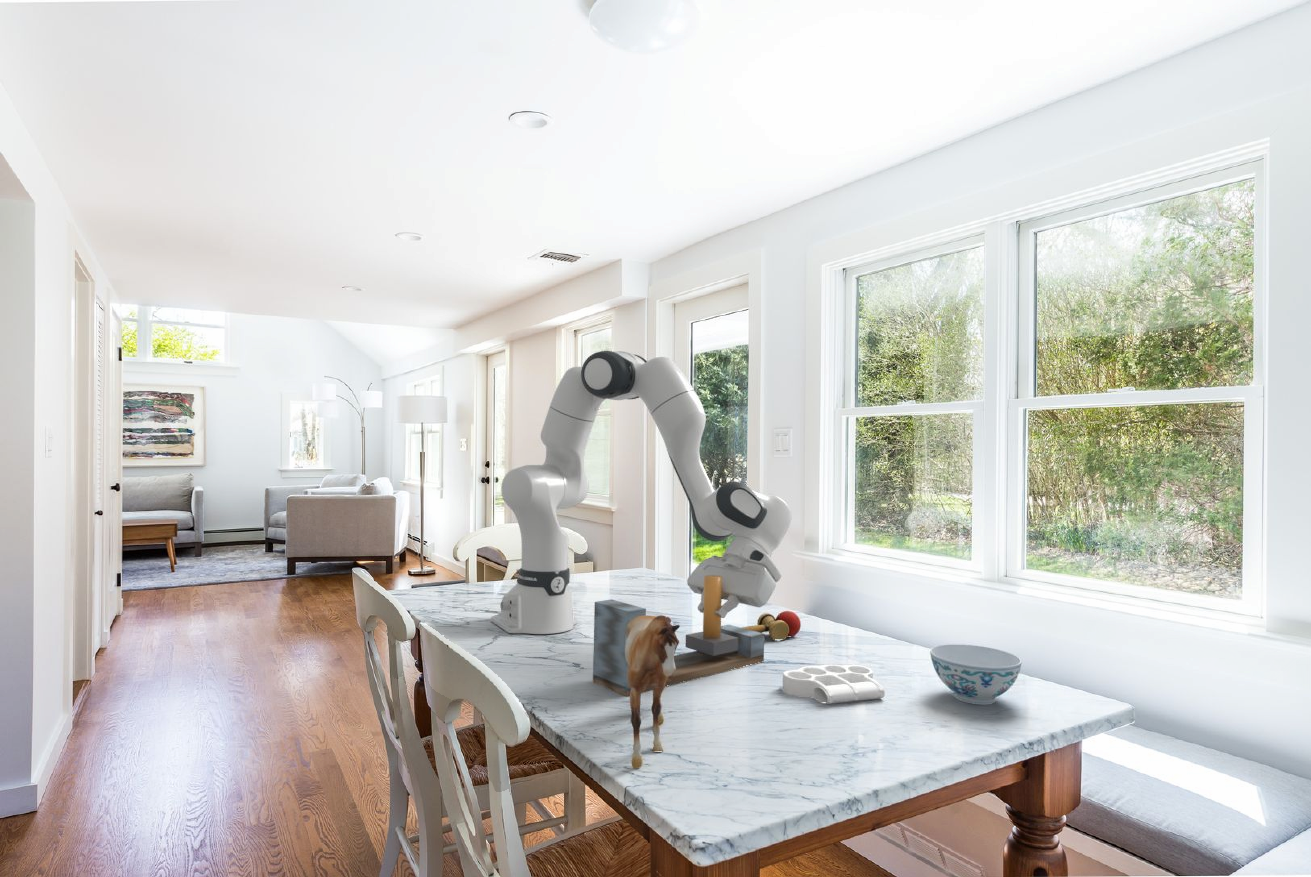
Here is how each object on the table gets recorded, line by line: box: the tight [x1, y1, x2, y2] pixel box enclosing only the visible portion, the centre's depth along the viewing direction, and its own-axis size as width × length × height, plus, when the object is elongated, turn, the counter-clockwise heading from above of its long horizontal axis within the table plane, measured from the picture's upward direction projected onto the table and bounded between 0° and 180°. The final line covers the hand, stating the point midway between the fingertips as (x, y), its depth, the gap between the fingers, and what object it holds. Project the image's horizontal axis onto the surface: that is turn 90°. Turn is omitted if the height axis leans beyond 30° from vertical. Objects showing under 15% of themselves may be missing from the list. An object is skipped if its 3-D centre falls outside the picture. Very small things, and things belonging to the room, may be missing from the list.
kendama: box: [741, 610, 802, 641], centre depth 173 cm, size 8×6×18 cm
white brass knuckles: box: [782, 664, 886, 706], centre depth 136 cm, size 3×18×15 cm
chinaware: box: [929, 643, 1022, 706], centre depth 133 cm, size 15×15×8 cm
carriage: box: [684, 575, 738, 656], centre depth 151 cm, size 8×7×14 cm
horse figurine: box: [625, 614, 681, 769], centre depth 112 cm, size 31×8×21 cm, turn 0°
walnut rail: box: [592, 599, 765, 697], centre depth 145 cm, size 11×36×15 cm, turn 131°
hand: (710, 613), depth 150 cm, fingers closed on carriage, 4 cm apart
